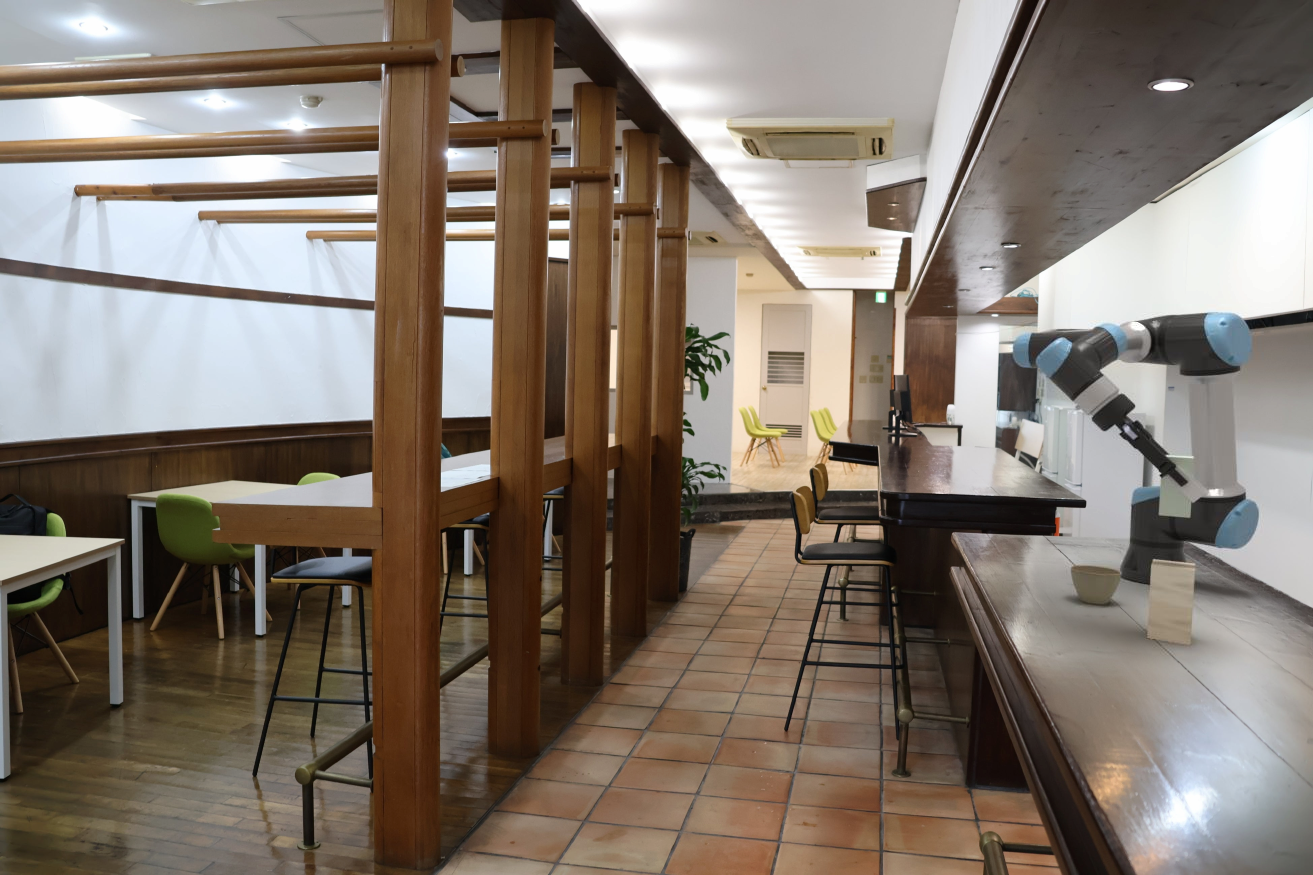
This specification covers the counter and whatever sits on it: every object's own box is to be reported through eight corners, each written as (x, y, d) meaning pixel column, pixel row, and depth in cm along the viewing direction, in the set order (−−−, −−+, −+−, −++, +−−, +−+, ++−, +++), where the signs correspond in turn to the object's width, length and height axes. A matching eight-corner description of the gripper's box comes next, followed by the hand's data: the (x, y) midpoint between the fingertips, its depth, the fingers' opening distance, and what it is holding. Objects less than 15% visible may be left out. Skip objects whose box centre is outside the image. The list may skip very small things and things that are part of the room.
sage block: (1160, 511, 169) (1163, 454, 169) (1190, 514, 167) (1193, 456, 166) (1158, 515, 165) (1162, 456, 165) (1189, 517, 163) (1193, 458, 162)
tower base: (1149, 629, 172) (1151, 594, 172) (1191, 635, 169) (1193, 599, 168) (1147, 638, 166) (1149, 602, 166) (1190, 645, 163) (1192, 607, 162)
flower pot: (1126, 608, 188) (1128, 575, 188) (1075, 605, 190) (1077, 572, 190) (1111, 597, 198) (1113, 566, 197) (1064, 594, 200) (1065, 563, 199)
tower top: (1151, 594, 172) (1153, 559, 171) (1193, 599, 168) (1195, 563, 168) (1149, 602, 166) (1151, 565, 165) (1192, 607, 162) (1194, 570, 162)
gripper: (1094, 416, 181) (1183, 503, 173) (1083, 419, 165) (1180, 515, 158) (1125, 391, 177) (1217, 478, 170) (1117, 391, 162) (1217, 488, 155)
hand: (1199, 496), depth 164 cm, fingers closed on sage block, 5 cm apart
